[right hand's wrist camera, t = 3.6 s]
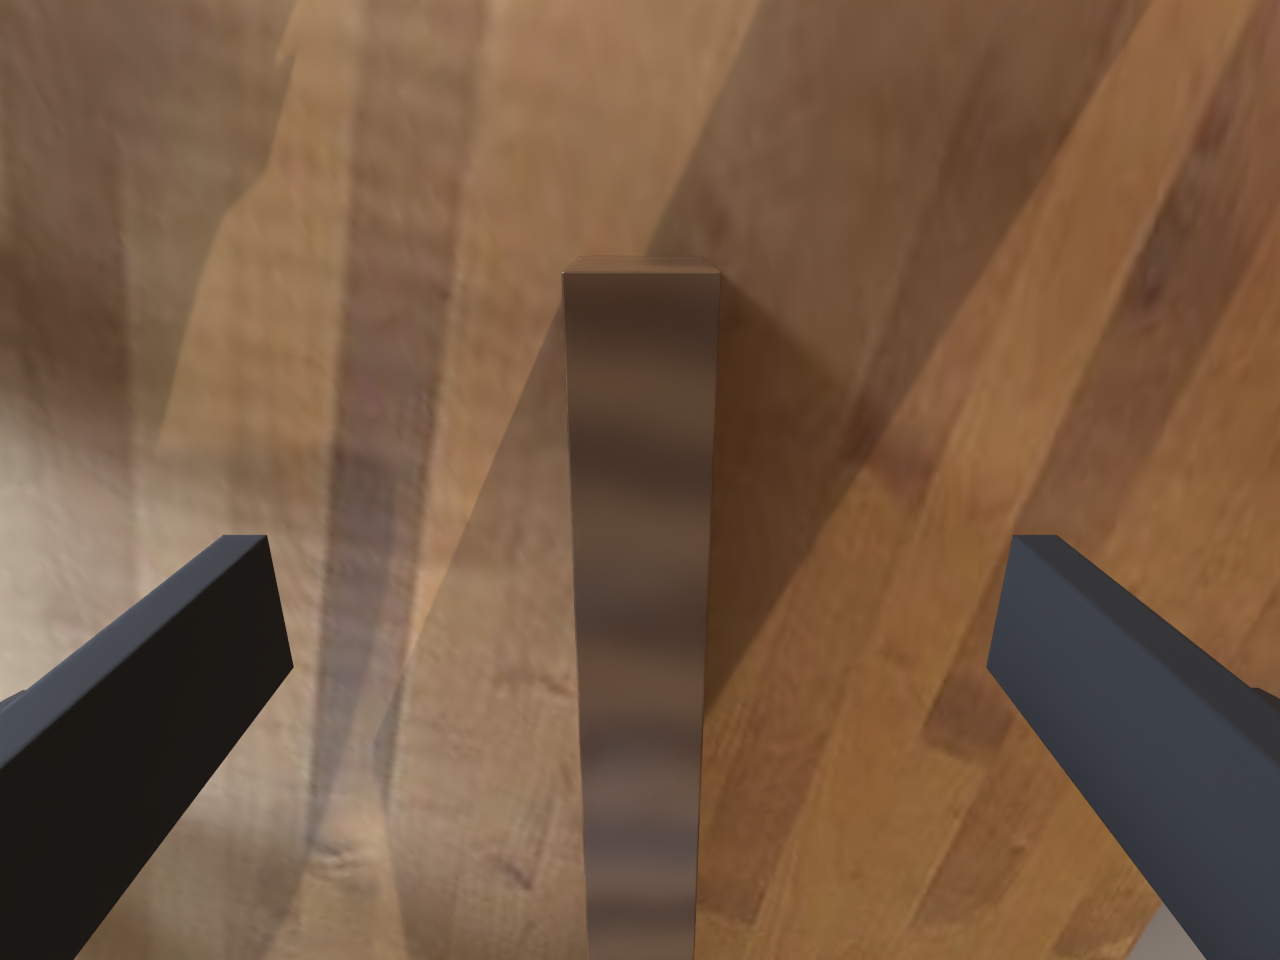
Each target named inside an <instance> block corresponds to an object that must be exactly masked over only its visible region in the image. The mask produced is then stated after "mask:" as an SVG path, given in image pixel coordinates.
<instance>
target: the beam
mask: <svg viewBox="0 0 1280 960" xmlns="http://www.w3.org/2000/svg"><path fill="white" fill-rule="evenodd" d="M720 283H721V273H720V271H719V270H717V269H716V268H715V267H714V266H713V265H712V264H711V263H709V262H708V261H707V260H706V259H705V258H704V257H702V256H580V257H578V258H577V259H576V260H575V261H574V262H573V263H572V264H571V265H569V266H568V267H567V268H566V269H565V270H564V271H563V272H562V296H563V322H564V349H565V375H566V401H567V428H568V454H569V481H570V507H571V533H572V560H573V586H574V613H575V639H576V665H577V692H578V718H579V745H580V771H581V798H582V824H583V850H584V877H585V903H586V930H587V956H588V960H694V947H695V922H696V896H697V871H698V845H699V819H700V794H701V768H702V743H703V717H704V692H705V666H706V641H707V615H708V590H709V564H710V538H711V513H712V487H713V462H714V436H715V411H716V385H717V360H718V334H719V308H720Z"/></svg>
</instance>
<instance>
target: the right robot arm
mask: <svg viewBox="0 0 1280 960" xmlns="http://www.w3.org/2000/svg"><path fill="white" fill-rule="evenodd" d="M293 667H294V666H293V661H292V656H291V651H290V646H289V641H288V636H287V632H286V627H285V622H284V617H283V612H282V607H281V602H280V597H279V592H278V587H277V582H276V577H275V572H274V567H273V562H272V558H271V553H270V548H269V543H268V538H267V535H223V536H222V537H220V538H219V539H218V540H216V541H215V542H214V543H213V544H211V545H210V546H209V547H208V548H206V549H205V550H204V551H203V552H201V553H200V554H199V555H197V556H196V557H195V558H194V559H192V560H191V561H190V562H189V563H187V564H186V565H185V566H183V567H182V568H181V569H180V570H178V571H177V572H176V573H175V574H173V575H172V576H171V577H169V578H168V579H167V580H166V581H164V582H163V583H162V584H161V585H159V586H158V587H157V588H155V589H154V590H153V591H152V592H150V593H149V594H148V595H147V596H145V597H144V598H143V599H142V600H140V601H139V602H138V603H136V604H135V605H134V606H133V607H131V608H130V609H129V610H128V611H126V612H125V613H124V614H122V615H121V616H120V617H119V618H117V619H116V620H115V621H114V622H112V623H111V624H110V625H108V626H107V627H106V628H105V629H103V630H102V631H101V632H100V633H98V634H97V635H96V636H94V637H93V638H92V639H91V640H89V641H88V642H87V643H86V644H84V645H83V646H82V647H81V648H79V649H78V650H77V651H75V652H74V653H73V654H72V655H70V656H69V657H68V658H67V659H65V660H64V661H63V662H61V663H60V664H59V665H58V666H56V667H55V668H54V669H53V670H51V671H50V672H49V673H47V674H46V675H45V676H44V677H42V678H41V679H40V680H39V681H37V682H36V683H35V684H33V685H32V686H31V687H30V688H28V689H27V690H22V691H20V692H18V693H17V694H15V695H13V696H11V697H9V698H7V699H5V700H3V701H1V702H0V960H74V958H75V957H76V956H77V954H78V953H79V952H80V950H81V949H82V948H83V946H84V945H85V944H86V942H87V941H88V940H89V938H90V937H91V936H92V934H93V933H94V932H95V930H96V929H97V928H98V926H99V925H100V924H101V922H102V921H103V920H104V918H105V917H106V916H107V914H108V913H109V912H110V910H111V909H112V908H113V906H114V905H115V904H116V902H117V901H118V900H119V898H120V897H121V896H122V895H123V893H124V892H125V891H126V889H127V888H128V887H129V885H130V884H131V883H132V881H133V880H134V879H135V877H136V876H137V875H138V873H139V872H140V871H141V869H142V868H143V867H144V865H145V864H146V863H147V861H148V860H149V859H150V857H151V856H152V855H153V853H154V852H155V851H156V849H157V848H158V847H159V845H160V844H161V843H162V841H163V840H164V839H165V837H166V836H167V835H168V833H169V832H170V831H171V829H172V828H173V827H174V825H175V824H176V823H177V821H178V820H179V819H180V817H181V816H182V815H183V813H184V812H185V811H186V810H187V808H188V807H189V806H190V804H191V803H192V802H193V800H194V799H195V798H196V796H197V795H198V794H199V792H200V791H201V790H202V788H203V787H204V786H205V784H206V783H207V782H208V780H209V779H210V778H211V776H212V775H213V774H214V772H215V771H216V770H217V768H218V767H219V766H220V764H221V763H222V762H223V760H224V759H225V758H226V756H227V755H228V754H229V752H230V751H231V750H232V748H233V747H234V746H235V744H236V743H237V742H238V740H239V739H240V738H241V736H242V735H243V734H244V732H245V731H246V730H247V729H248V727H249V726H250V725H251V723H252V722H253V721H254V719H255V718H256V717H257V715H258V714H259V713H260V711H261V710H262V709H263V707H264V706H265V705H266V703H267V702H268V701H269V699H270V698H271V697H272V695H273V694H274V693H275V691H276V690H277V689H278V687H279V686H280V685H281V683H282V682H283V681H284V679H285V678H286V677H287V675H288V674H289V673H290V671H291V670H292V669H293ZM986 667H987V669H988V670H989V671H990V673H991V674H992V675H993V677H994V678H995V679H996V681H997V682H998V683H999V685H1000V686H1001V687H1002V689H1003V690H1004V691H1005V693H1006V694H1007V695H1008V697H1009V698H1010V699H1011V701H1012V702H1013V703H1014V705H1015V706H1016V707H1017V709H1018V710H1019V711H1020V713H1021V714H1022V715H1023V717H1024V718H1025V719H1026V721H1027V722H1028V723H1029V725H1030V726H1031V727H1032V729H1033V730H1034V731H1035V732H1036V734H1037V735H1038V736H1039V738H1040V739H1041V740H1042V742H1043V743H1044V744H1045V746H1046V747H1047V748H1048V750H1049V751H1050V752H1051V754H1052V755H1053V756H1054V758H1055V759H1056V760H1057V762H1058V763H1059V764H1060V766H1061V767H1062V768H1063V770H1064V771H1065V772H1066V774H1067V775H1068V776H1069V778H1070V779H1071V780H1072V782H1073V783H1074V784H1075V786H1076V787H1077V788H1078V790H1079V791H1080V792H1081V794H1082V795H1083V796H1084V798H1085V799H1086V800H1087V802H1088V803H1089V804H1090V806H1091V807H1092V808H1093V810H1094V811H1095V812H1096V813H1097V815H1098V816H1099V817H1100V819H1101V820H1102V821H1103V823H1104V824H1105V825H1106V827H1107V828H1108V829H1109V831H1110V832H1111V833H1112V835H1113V836H1114V837H1115V839H1116V840H1117V841H1118V843H1119V844H1120V845H1121V847H1122V848H1123V849H1124V851H1125V852H1126V853H1127V855H1128V856H1129V857H1130V859H1131V860H1132V861H1133V863H1134V864H1135V865H1136V867H1137V868H1138V869H1139V871H1140V872H1141V873H1142V875H1143V876H1144V877H1145V879H1146V880H1147V881H1148V883H1149V884H1150V885H1151V887H1152V888H1153V889H1154V891H1155V892H1156V893H1157V895H1158V896H1159V897H1160V898H1161V900H1162V901H1163V902H1164V904H1165V905H1166V906H1167V908H1168V909H1169V910H1170V912H1171V913H1172V914H1173V916H1174V917H1175V918H1176V920H1177V921H1178V922H1179V924H1180V925H1181V926H1182V928H1183V929H1184V930H1185V932H1186V933H1187V934H1188V936H1189V937H1190V938H1191V940H1192V941H1193V942H1194V944H1195V945H1196V946H1197V948H1198V949H1199V950H1200V952H1201V953H1202V954H1203V956H1204V957H1205V958H1206V960H1280V699H1279V698H1277V697H1275V696H1273V695H1271V694H1269V693H1267V692H1265V691H1263V690H1262V689H1260V688H1250V687H1249V686H1248V685H1247V684H1245V683H1244V682H1243V681H1241V680H1240V679H1239V678H1238V677H1236V676H1235V675H1234V674H1233V673H1231V672H1230V671H1229V670H1227V669H1226V668H1225V667H1224V666H1222V665H1221V664H1220V663H1219V662H1217V661H1216V660H1215V659H1213V658H1212V657H1211V656H1210V655H1208V654H1207V653H1206V652H1205V651H1203V650H1202V649H1201V648H1199V647H1198V646H1197V645H1196V644H1194V643H1193V642H1192V641H1191V640H1189V639H1188V638H1187V637H1186V636H1184V635H1183V634H1182V633H1180V632H1179V631H1178V630H1177V629H1175V628H1174V627H1173V626H1172V625H1170V624H1169V623H1168V622H1166V621H1165V620H1164V619H1163V618H1161V617H1160V616H1159V615H1158V614H1156V613H1155V612H1154V611H1152V610H1151V609H1150V608H1149V607H1147V606H1146V605H1145V604H1144V603H1142V602H1141V601H1140V600H1138V599H1137V598H1136V597H1135V596H1133V595H1132V594H1131V593H1130V592H1128V591H1127V590H1126V589H1125V588H1123V587H1122V586H1121V585H1119V584H1118V583H1117V582H1116V581H1114V580H1113V579H1112V578H1111V577H1109V576H1108V575H1107V574H1105V573H1104V572H1103V571H1102V570H1100V569H1099V568H1098V567H1097V566H1095V565H1094V564H1093V563H1091V562H1090V561H1089V560H1088V559H1086V558H1085V557H1084V556H1083V555H1081V554H1080V553H1079V552H1077V551H1076V550H1075V549H1074V548H1072V547H1071V546H1070V545H1069V544H1067V543H1066V542H1065V541H1064V540H1062V539H1061V538H1060V537H1058V536H1057V535H1013V538H1012V543H1011V548H1010V553H1009V558H1008V562H1007V567H1006V572H1005V577H1004V582H1003V587H1002V592H1001V597H1000V602H999V607H998V612H997V617H996V622H995V627H994V632H993V636H992V641H991V646H990V651H989V656H988V661H987V666H986Z"/></svg>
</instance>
